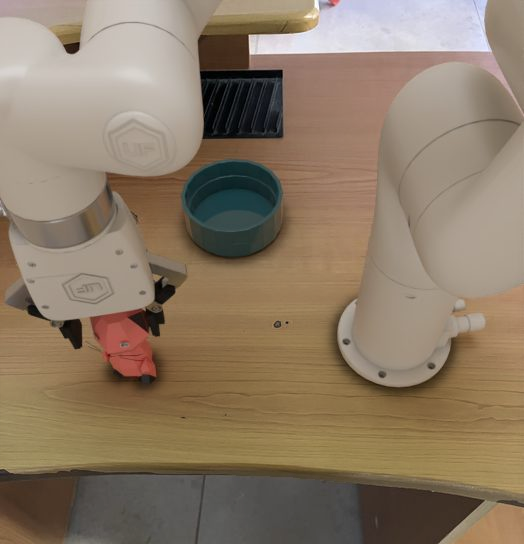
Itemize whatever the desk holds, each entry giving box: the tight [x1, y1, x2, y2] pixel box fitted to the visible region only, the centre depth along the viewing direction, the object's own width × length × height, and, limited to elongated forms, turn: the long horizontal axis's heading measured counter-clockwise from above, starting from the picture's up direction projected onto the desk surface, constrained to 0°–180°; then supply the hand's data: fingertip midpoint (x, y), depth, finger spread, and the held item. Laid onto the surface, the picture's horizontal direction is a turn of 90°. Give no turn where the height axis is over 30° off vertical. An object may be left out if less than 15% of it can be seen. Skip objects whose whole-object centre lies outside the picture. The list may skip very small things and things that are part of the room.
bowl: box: [180, 158, 284, 258], centre depth 73 cm, size 13×13×5 cm
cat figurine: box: [86, 308, 157, 386], centre depth 59 cm, size 7×7×12 cm
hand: (117, 330), depth 58 cm, fingers closed on cat figurine, 7 cm apart
